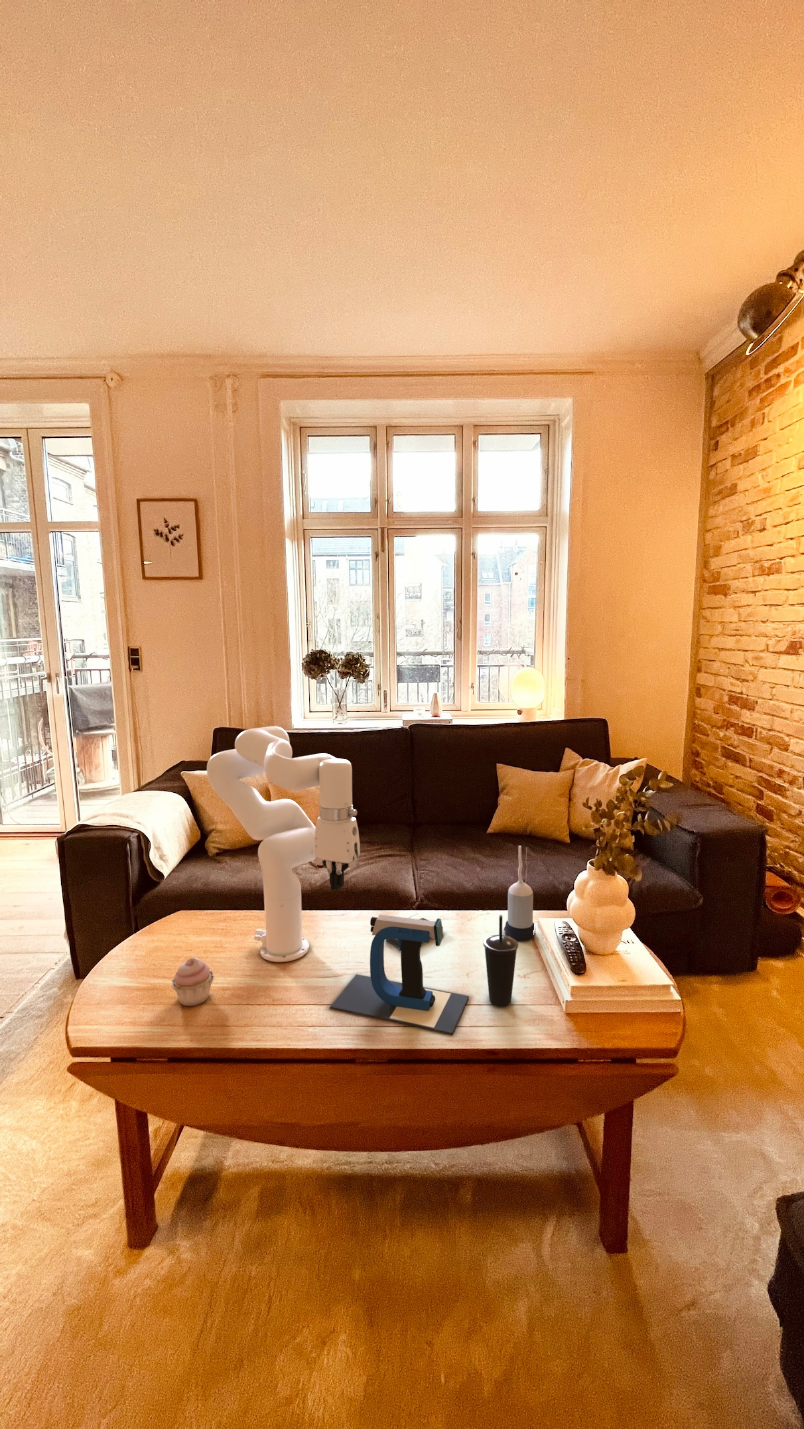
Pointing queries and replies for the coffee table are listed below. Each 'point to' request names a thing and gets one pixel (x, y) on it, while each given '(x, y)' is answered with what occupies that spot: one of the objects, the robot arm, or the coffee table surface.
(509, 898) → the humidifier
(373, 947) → the handheld scanner
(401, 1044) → the coffee table surface
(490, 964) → the drinking cup
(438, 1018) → the mat
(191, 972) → the cupcake
